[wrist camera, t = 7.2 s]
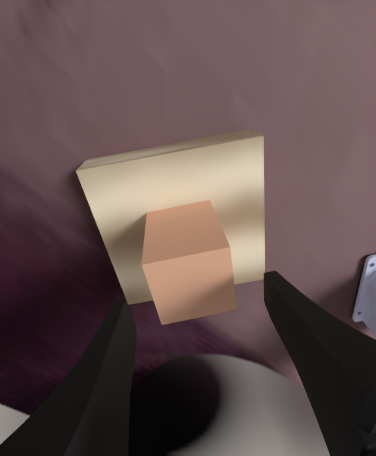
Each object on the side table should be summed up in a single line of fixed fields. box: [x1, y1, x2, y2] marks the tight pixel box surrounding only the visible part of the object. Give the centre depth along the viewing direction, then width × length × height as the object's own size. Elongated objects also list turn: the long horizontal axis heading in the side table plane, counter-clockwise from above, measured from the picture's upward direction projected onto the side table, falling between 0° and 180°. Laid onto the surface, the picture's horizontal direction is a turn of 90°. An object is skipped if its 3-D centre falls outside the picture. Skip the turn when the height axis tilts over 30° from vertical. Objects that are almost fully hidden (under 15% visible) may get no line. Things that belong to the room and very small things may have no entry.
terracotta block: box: [142, 200, 237, 325], centre depth 16 cm, size 4×4×6 cm
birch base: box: [76, 129, 265, 305], centre depth 20 cm, size 12×12×3 cm
